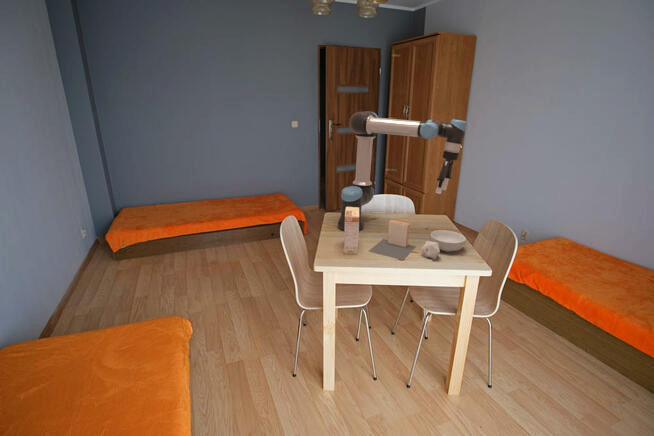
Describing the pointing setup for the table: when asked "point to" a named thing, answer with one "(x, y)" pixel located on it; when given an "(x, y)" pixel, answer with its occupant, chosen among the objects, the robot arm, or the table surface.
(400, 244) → the salmon orange block
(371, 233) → the table surface
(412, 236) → the table surface
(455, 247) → the cereal bowl
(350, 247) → the coffeecake box
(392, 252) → the mat
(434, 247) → the die
